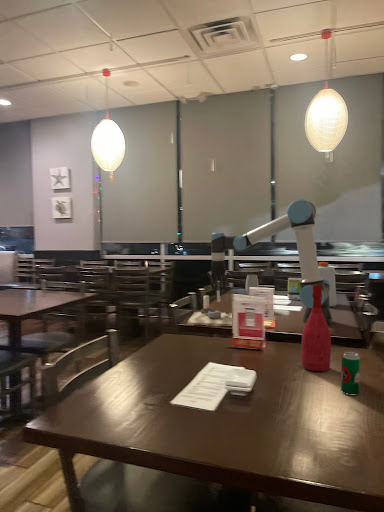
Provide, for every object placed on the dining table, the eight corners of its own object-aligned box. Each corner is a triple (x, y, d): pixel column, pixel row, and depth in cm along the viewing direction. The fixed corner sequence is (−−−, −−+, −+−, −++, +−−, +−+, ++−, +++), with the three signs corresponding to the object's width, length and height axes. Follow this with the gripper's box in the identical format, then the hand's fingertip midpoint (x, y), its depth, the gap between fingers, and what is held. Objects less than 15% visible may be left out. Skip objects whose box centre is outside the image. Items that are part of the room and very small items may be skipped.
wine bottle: (330, 364, 139) (331, 283, 137) (330, 374, 130) (332, 287, 128) (301, 361, 142) (303, 282, 140) (300, 371, 133) (302, 285, 131)
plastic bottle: (338, 307, 244) (339, 263, 242) (314, 307, 244) (315, 263, 242) (330, 302, 259) (331, 261, 257) (307, 302, 259) (308, 261, 257)
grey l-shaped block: (223, 317, 207) (223, 299, 206) (212, 319, 204) (212, 300, 203) (210, 312, 220) (210, 295, 219) (199, 314, 216) (199, 296, 216)
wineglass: (258, 307, 244) (258, 274, 242) (259, 310, 235) (259, 276, 234) (244, 307, 245) (244, 274, 243) (245, 309, 236) (245, 276, 235)
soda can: (357, 397, 111) (358, 357, 111) (339, 393, 114) (340, 354, 113) (360, 391, 116) (361, 352, 115) (342, 388, 118) (343, 350, 118)
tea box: (288, 299, 269) (288, 279, 268) (287, 297, 279) (287, 277, 278) (310, 300, 267) (311, 279, 266) (308, 298, 277) (309, 277, 276)
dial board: (239, 315, 219) (239, 311, 219) (237, 327, 194) (237, 321, 194) (194, 314, 224) (194, 309, 223) (187, 325, 198) (187, 320, 198)
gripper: (230, 259, 217) (231, 300, 218) (208, 259, 220) (208, 300, 222) (228, 260, 210) (229, 303, 211) (205, 260, 213) (206, 302, 214)
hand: (218, 301), depth 216 cm, fingers closed
